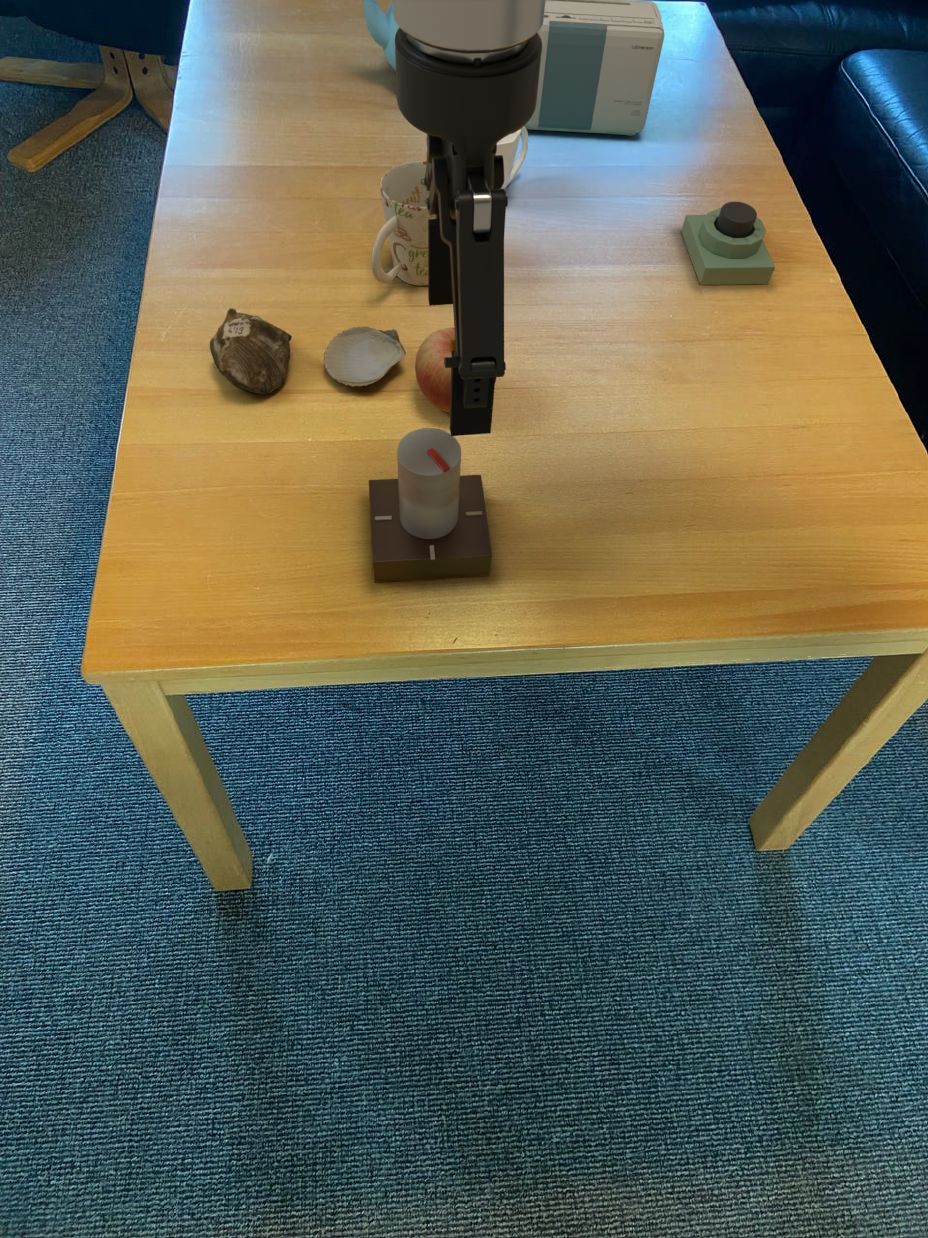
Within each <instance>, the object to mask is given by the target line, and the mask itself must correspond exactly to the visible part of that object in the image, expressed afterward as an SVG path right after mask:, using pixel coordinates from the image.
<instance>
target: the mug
mask: <svg viewBox="0 0 928 1238" xmlns="http://www.w3.org/2000/svg"><path fill="white" fill-rule="evenodd" d="M425 176H426V161H424V160H423V161H421V160H420V161H419V160H417V161H416V160H415V161H406V162H403V163H398V164H396V165H394V166H391V168H389V169H388V170H386V171H385V172H384V174H382V176H381V179H380V181H379V190H380V191H379V192H380V198H381V203H382V209H383V213H384V219H385V223H384V224H383V226H382V227H381V228H380V230H379V231H378V233H377V236H376V238H375V241H374V243H373V247H372V248H373V249H372V253H371V261H370V262H371V264H370V265H371V271H372V274H373V276H374V278H375V280H377V281H378V282H379V283H389V282H391V281H392V282H393V280H394V279H395V278H396V277H397V278H399V280H401V281H402V282H404V283H406V284H408V285H413V286H420V287H426V286H428V219H435V215H430V214H429V211H428V209H427V202H428V198H429V191H427V190H426V186H424V178H425ZM387 239H388V242H389V247H390V254H391V259H392V264H393V268H391V269H390V270H389V271H388V272H385V270H384V269H383V267H382V264H381V261H382V254H383V250H384V249H383V248H384V246H385V243H386V242H387V241H386V240H387Z"/></svg>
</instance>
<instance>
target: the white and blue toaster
mask: <svg viewBox="0 0 928 1238" xmlns="http://www.w3.org/2000/svg"><path fill="white" fill-rule="evenodd" d="M537 33H538V34H539V36H540V38H541V41H542V53H541V63H540V73H539V83H538V92H537V102H536V108H535V111H534V114H533V116H532V117H531V119H530V120H529V121H528V123H527V124H526V125H525V128H526V130H536V131H551V132H552V131H553V132H573V133H588V134H605V135H608V134H609V135H621V136H623V135H625V136H628V137H631V136H636V134H637V133H642V132H643V130H644V129H645V126H646V121H647V117H648V113H649V108H650V103H651V99H652V94H653V90H654V85H655V81H656V76H657V72H658V68H659V64H660V63H659V62H660V59H661V54H662V49H663V44H664V40H665V29H664V25H663V21H662V14H661V12H660V10H659V6H658V4H657V3H656V2H654V1H652V0H546V2H545V11H544V20H543V25H542V26H541V28H540V30H539V31H538V32H537Z"/></svg>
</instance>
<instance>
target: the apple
mask: <svg viewBox="0 0 928 1238" xmlns="http://www.w3.org/2000/svg"><path fill="white" fill-rule="evenodd" d="M452 351H456V347H455V330H454V327H448V328H447V327H446V328H442V329H437V330H436V331H434V332H432V333H431V334H429V335H428V336H427V337H426V338H425V339H424V340H423V341H422V343H421V344H420V346H419V348H418V351H417V353H416V357H415V362H414V371H415V377H416V382H417V384H418V387H419V390H420V391H421V393H422V395H423V396H424V398H426V399H427V400H428V402H429V403H431V405H433V406H434V407H435V408H437V409H438V410H440V411H443V412H447V413H450V397H451V368H445V365H444V357H452ZM497 378H498V377H495V383H496V382H497Z"/></svg>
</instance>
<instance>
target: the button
mask: <svg viewBox="0 0 928 1238" xmlns="http://www.w3.org/2000/svg"><path fill="white" fill-rule="evenodd" d="M720 208H721V211H720V214H719V217H718V220H717V223H716V229H717V230H718V231H719V232H720V233H722V234H723V235H725V236H729V237H732V238H746V237H748V236H749V235H750V234H751V231H752V228H753V226H754V223H755V220H756V217H757V218H758V213H757V211H756V209H755V208H754V207H753V206H751V205H750V204H748V203H746V202H742V201H728V202H726V203H724V204H723V205H722V206H721V207H720Z"/></svg>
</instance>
